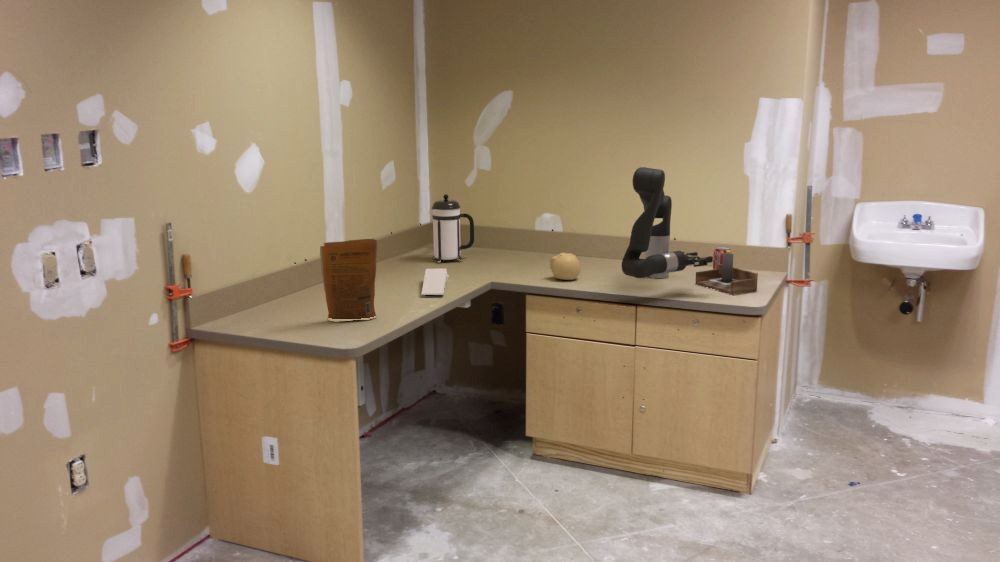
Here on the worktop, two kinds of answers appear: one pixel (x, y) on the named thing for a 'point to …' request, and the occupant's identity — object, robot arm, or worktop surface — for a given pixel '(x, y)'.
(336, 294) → the pancake mix bag
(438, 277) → the white boxy piece
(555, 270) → the tan round lump
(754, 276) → the bay
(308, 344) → the worktop surface
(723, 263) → the tall grey cylinder
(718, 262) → the soda can
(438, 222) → the coffee press
